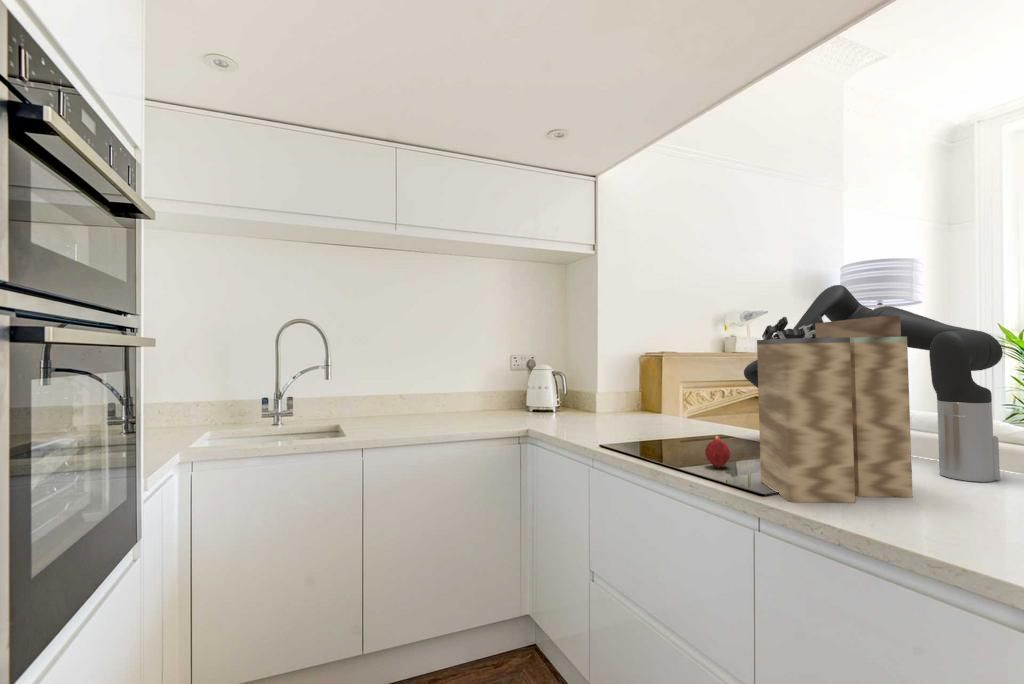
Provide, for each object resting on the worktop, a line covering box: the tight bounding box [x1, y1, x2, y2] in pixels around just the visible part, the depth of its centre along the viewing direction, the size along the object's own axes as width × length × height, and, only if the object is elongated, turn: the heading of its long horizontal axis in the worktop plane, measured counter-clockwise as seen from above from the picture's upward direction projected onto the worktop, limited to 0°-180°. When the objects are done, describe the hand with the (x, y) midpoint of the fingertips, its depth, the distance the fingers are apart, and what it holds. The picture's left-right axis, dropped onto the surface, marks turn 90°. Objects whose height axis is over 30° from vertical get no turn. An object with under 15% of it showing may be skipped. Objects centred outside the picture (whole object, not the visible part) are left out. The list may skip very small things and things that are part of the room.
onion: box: [704, 435, 731, 469], centre depth 125 cm, size 6×6×8 cm
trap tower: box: [756, 337, 856, 504], centre depth 103 cm, size 12×14×32 cm
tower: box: [850, 336, 914, 498], centre depth 105 cm, size 10×14×32 cm
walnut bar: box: [815, 316, 901, 338], centre depth 108 cm, size 4×24×4 cm, turn 174°
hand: (803, 319), depth 128 cm, fingers open, 8 cm apart
